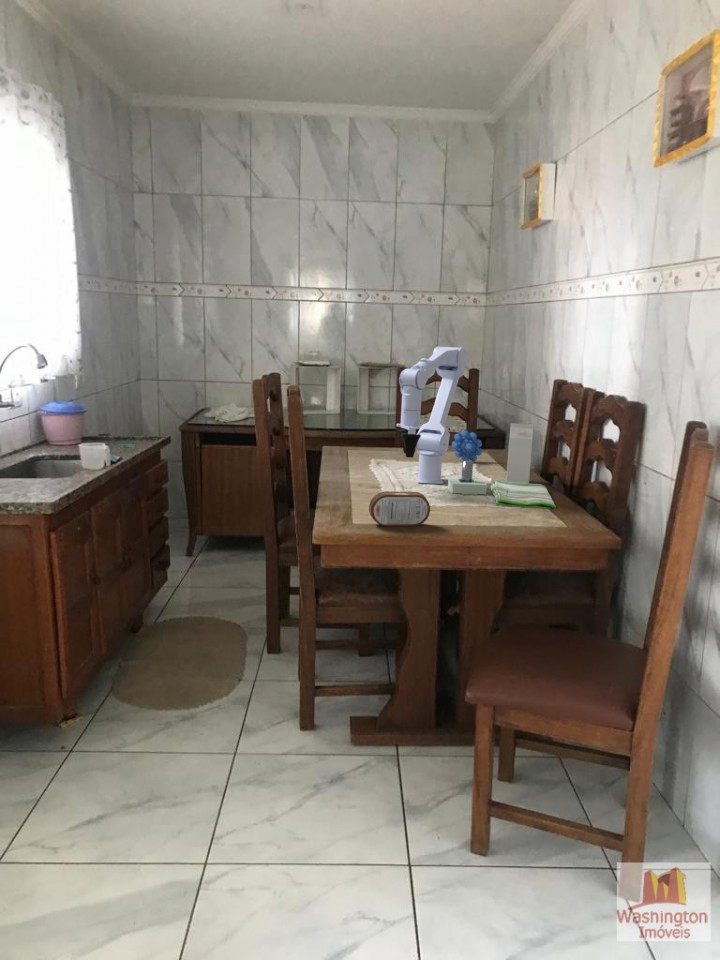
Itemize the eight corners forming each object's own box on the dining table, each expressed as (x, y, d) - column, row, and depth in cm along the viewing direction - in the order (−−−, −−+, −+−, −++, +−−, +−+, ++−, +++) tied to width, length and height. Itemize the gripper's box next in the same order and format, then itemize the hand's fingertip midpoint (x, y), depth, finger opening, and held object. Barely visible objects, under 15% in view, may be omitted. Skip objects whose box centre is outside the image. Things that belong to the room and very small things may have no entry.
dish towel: (546, 493, 223) (547, 482, 223) (557, 511, 201) (558, 498, 200) (490, 490, 225) (490, 478, 225) (494, 507, 203) (495, 495, 202)
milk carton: (506, 479, 240) (510, 422, 236) (528, 480, 239) (533, 423, 235) (506, 483, 233) (510, 424, 229) (528, 485, 232) (533, 426, 228)
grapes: (454, 464, 264) (456, 431, 261) (449, 461, 270) (450, 429, 268) (484, 464, 265) (487, 431, 263) (479, 461, 272) (481, 429, 270)
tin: (427, 523, 182) (429, 490, 180) (430, 526, 179) (432, 493, 177) (368, 524, 179) (369, 490, 178) (370, 527, 176) (371, 493, 175)
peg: (458, 489, 222) (460, 460, 220) (468, 489, 223) (469, 460, 221) (463, 492, 219) (465, 462, 217) (473, 491, 220) (475, 462, 218)
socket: (447, 486, 225) (448, 477, 225) (480, 487, 226) (480, 478, 225) (452, 493, 216) (453, 483, 215) (486, 494, 216) (486, 484, 215)
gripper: (395, 407, 222) (393, 451, 225) (399, 411, 208) (396, 458, 210) (418, 408, 222) (416, 451, 225) (423, 412, 208) (421, 459, 211)
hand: (408, 455), depth 218 cm, fingers open, 7 cm apart
